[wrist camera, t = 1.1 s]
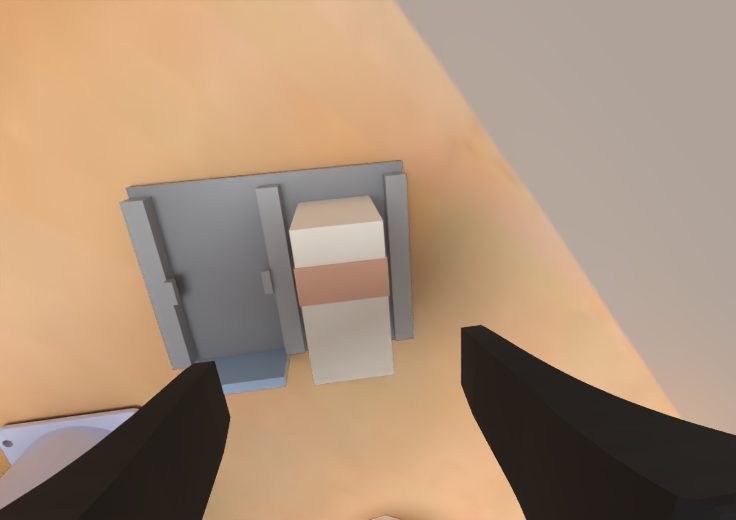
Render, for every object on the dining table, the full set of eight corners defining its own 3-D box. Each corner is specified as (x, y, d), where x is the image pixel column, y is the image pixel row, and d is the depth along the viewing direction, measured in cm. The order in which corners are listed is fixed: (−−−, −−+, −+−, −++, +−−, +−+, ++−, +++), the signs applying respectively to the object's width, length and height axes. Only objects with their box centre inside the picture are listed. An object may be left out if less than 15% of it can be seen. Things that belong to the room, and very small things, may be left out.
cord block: (379, 318, 21) (395, 375, 17) (315, 326, 21) (313, 387, 16) (370, 195, 19) (384, 221, 14) (297, 202, 19) (287, 231, 14)
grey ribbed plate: (409, 337, 23) (420, 368, 20) (185, 366, 22) (165, 402, 19) (400, 160, 19) (413, 167, 16) (130, 186, 18) (94, 198, 15)
